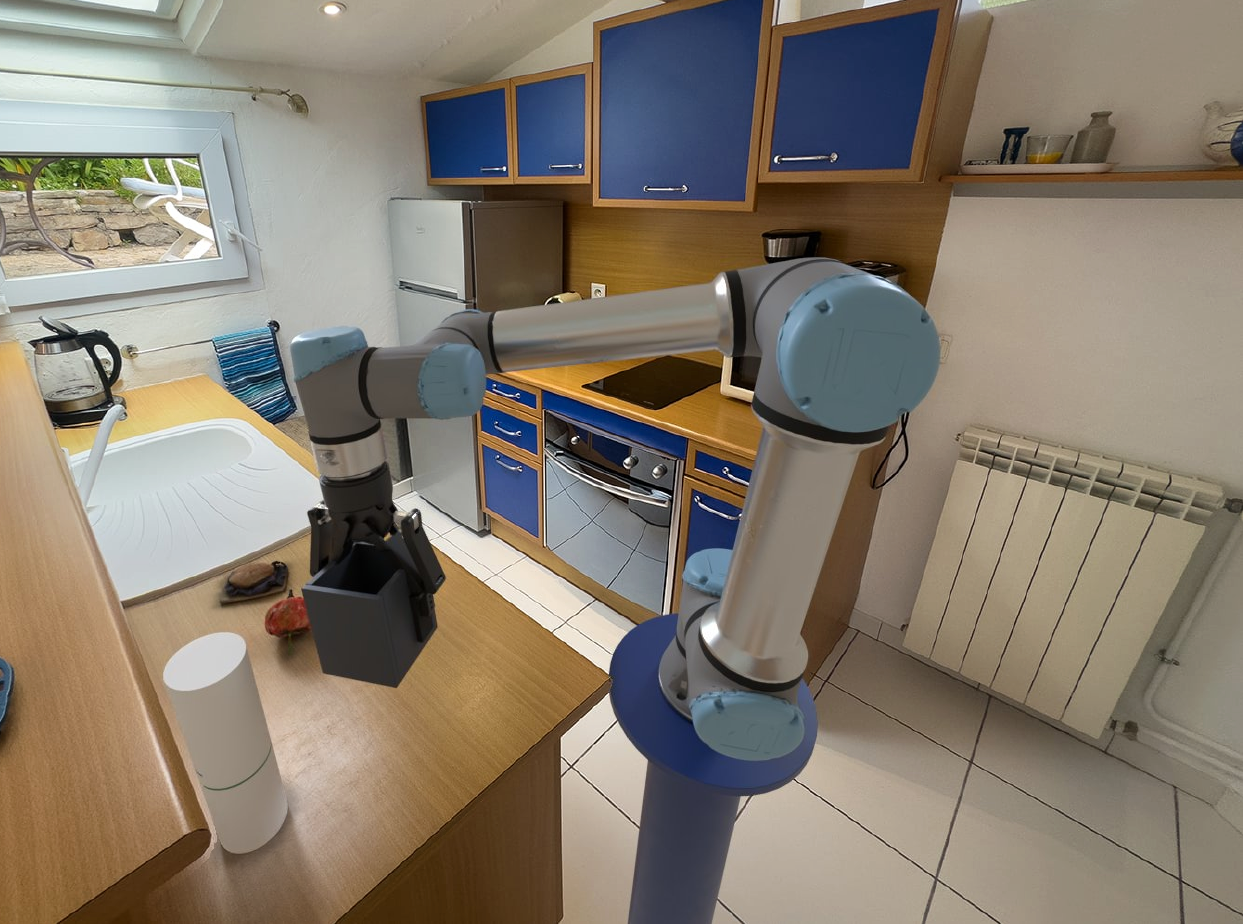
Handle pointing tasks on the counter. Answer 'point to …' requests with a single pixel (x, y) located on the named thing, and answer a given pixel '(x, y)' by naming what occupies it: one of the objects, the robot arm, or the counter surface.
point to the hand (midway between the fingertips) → (387, 628)
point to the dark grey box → (363, 618)
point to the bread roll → (254, 581)
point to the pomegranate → (287, 618)
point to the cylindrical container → (228, 739)
